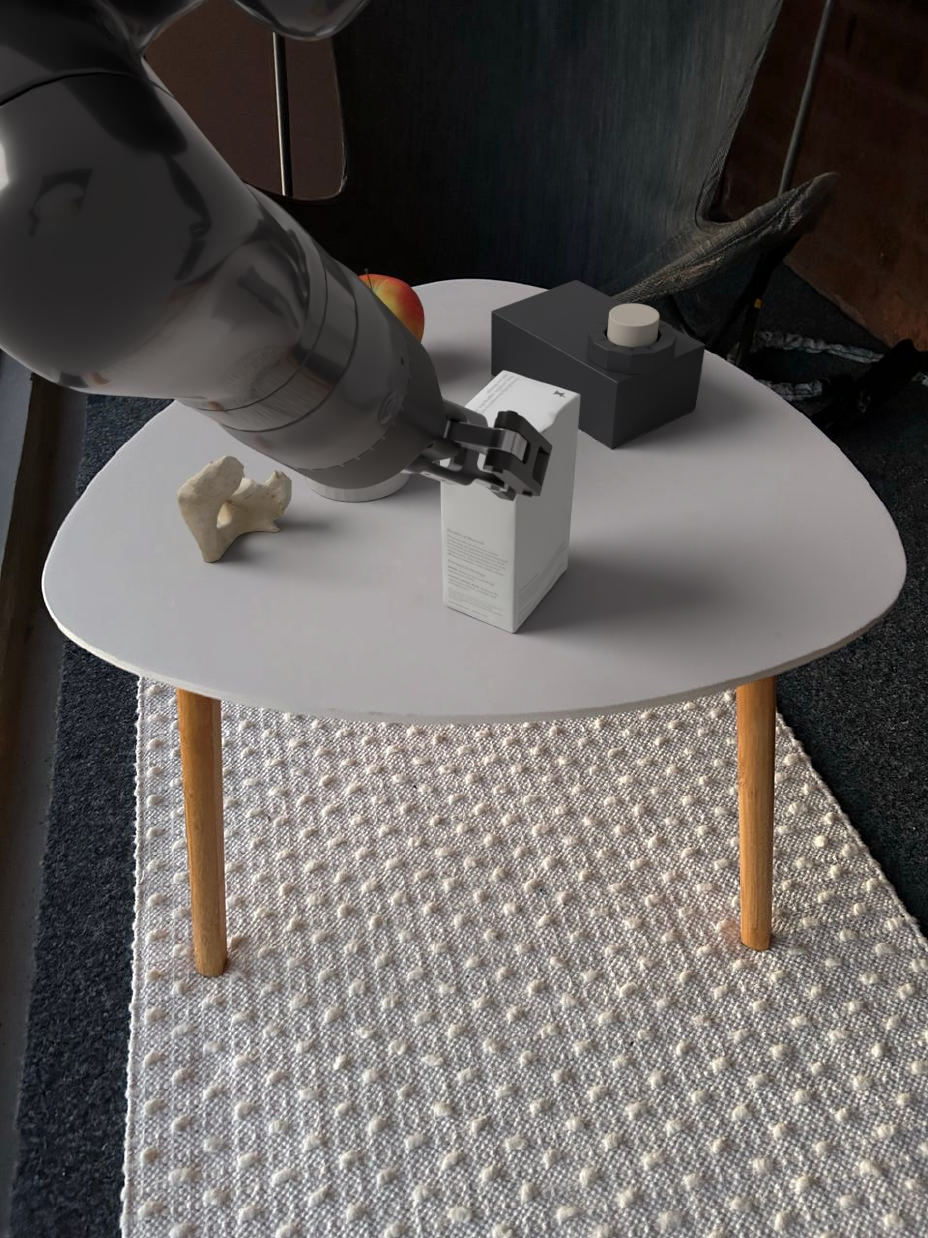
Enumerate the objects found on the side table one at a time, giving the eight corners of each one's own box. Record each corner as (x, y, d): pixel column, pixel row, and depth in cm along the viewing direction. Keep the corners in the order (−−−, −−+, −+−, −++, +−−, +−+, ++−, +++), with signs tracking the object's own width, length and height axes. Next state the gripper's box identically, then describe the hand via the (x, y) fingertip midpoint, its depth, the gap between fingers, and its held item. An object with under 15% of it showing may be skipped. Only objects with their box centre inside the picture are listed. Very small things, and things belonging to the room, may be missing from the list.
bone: (264, 466, 85) (271, 401, 76) (303, 534, 84) (315, 477, 75) (163, 508, 82) (157, 446, 73) (201, 579, 81) (201, 525, 72)
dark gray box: (701, 412, 94) (714, 326, 88) (616, 452, 89) (625, 364, 84) (572, 341, 104) (577, 260, 98) (490, 374, 99) (490, 291, 94)
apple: (443, 375, 99) (440, 269, 92) (367, 402, 96) (358, 295, 89) (396, 341, 104) (390, 239, 97) (322, 365, 101) (310, 261, 94)
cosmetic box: (499, 545, 80) (501, 363, 70) (572, 571, 78) (585, 387, 68) (439, 610, 75) (432, 423, 65) (515, 640, 72) (520, 452, 62)
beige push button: (667, 339, 88) (670, 315, 86) (631, 354, 86) (633, 330, 84) (632, 321, 90) (634, 298, 89) (596, 336, 88) (598, 312, 87)
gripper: (512, 307, 40) (583, 421, 56) (182, 253, 44) (334, 373, 60) (462, 503, 40) (547, 562, 56) (135, 431, 44) (300, 505, 60)
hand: (437, 464), depth 58 cm, fingers open, 8 cm apart
